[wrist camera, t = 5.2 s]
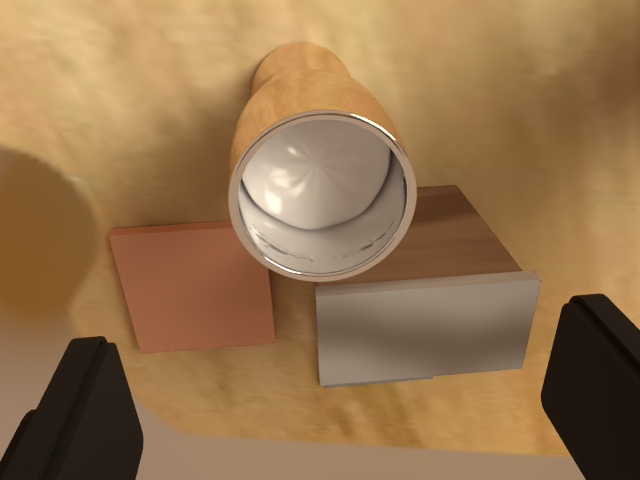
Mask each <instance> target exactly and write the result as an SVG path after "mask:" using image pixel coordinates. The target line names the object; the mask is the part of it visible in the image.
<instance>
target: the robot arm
mask: <svg viewBox="0 0 640 480" xmlns="http://www.w3.org/2000/svg"><path fill="white" fill-rule="evenodd" d="M541 402H542V406H543V409H544V411H545V413H546V414H547V416H548V418H549V419H550V421H551V423H552V424H553V426H554V428H555V429H556V431H557V433H558V434H559V436H560V438H561V439H562V441H563V443H564V444H565V446H566V448H567V449H568V451H569V453H570V454H571V456H572V457H573V459H574V461H575V462H576V464H577V466H578V467H579V469H580V471H581V472H582V474H583V475H584V477H585V479H586V480H640V330H639V329H638V328H637V327H636V326H635V325H634V324H633V323H632V322H631V321H630V320H629V319H628V318H627V317H626V316H625V315H624V314H623V313H622V312H621V311H620V310H619V309H618V308H617V307H616V306H615V305H614V304H613V302H612V301H611V300H610V299H609V298H608V297H606V296H605V295H604V294H589V295H578V296H573V297H572V298H571V299H570V301H569V303H566V304H564V305H563V307H562V310H561V314H560V318H559V322H558V326H557V330H556V334H555V338H554V343H553V347H552V351H551V355H550V359H549V363H548V367H547V371H546V375H545V379H544V383H543V387H542V391H541ZM142 450H143V433H142V429H141V426H140V422H139V419H138V416H137V412H136V409H135V406H134V402H133V399H132V396H131V392H130V389H129V386H128V382H127V379H126V376H125V372H124V369H123V366H122V363H121V359H120V356H119V353H118V349H117V346H116V344H115V343H113V342H112V343H108V342H107V340H106V339H105V337H103V336H98V337H86V338H74V339H73V340H71V342H70V343H69V345H68V347H67V349H66V351H65V353H64V355H63V357H62V359H61V361H60V363H59V365H58V367H57V369H56V371H55V373H54V375H53V377H52V379H51V381H50V383H49V385H48V387H47V389H46V391H45V393H44V395H43V397H42V399H41V401H40V403H39V405H38V407H37V409H35V410H31V411H29V412H28V413H27V414H26V415H25V416H24V418H23V419H22V421H21V423H20V425H19V427H18V428H17V430H16V432H15V434H14V436H13V438H12V440H11V442H10V444H9V446H8V448H7V450H6V451H5V453H4V456H3V457H2V459H1V461H0V480H135V479H136V475H137V471H138V467H139V463H140V459H141V454H142Z"/></svg>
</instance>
